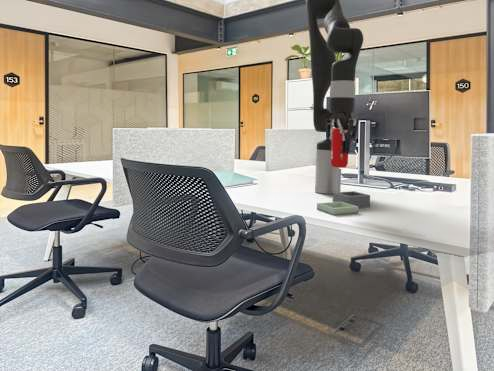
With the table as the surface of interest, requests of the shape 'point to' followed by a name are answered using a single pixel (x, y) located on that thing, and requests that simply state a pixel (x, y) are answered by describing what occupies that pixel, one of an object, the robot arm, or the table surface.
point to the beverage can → (338, 150)
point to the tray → (337, 208)
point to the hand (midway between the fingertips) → (339, 152)
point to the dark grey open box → (352, 198)
